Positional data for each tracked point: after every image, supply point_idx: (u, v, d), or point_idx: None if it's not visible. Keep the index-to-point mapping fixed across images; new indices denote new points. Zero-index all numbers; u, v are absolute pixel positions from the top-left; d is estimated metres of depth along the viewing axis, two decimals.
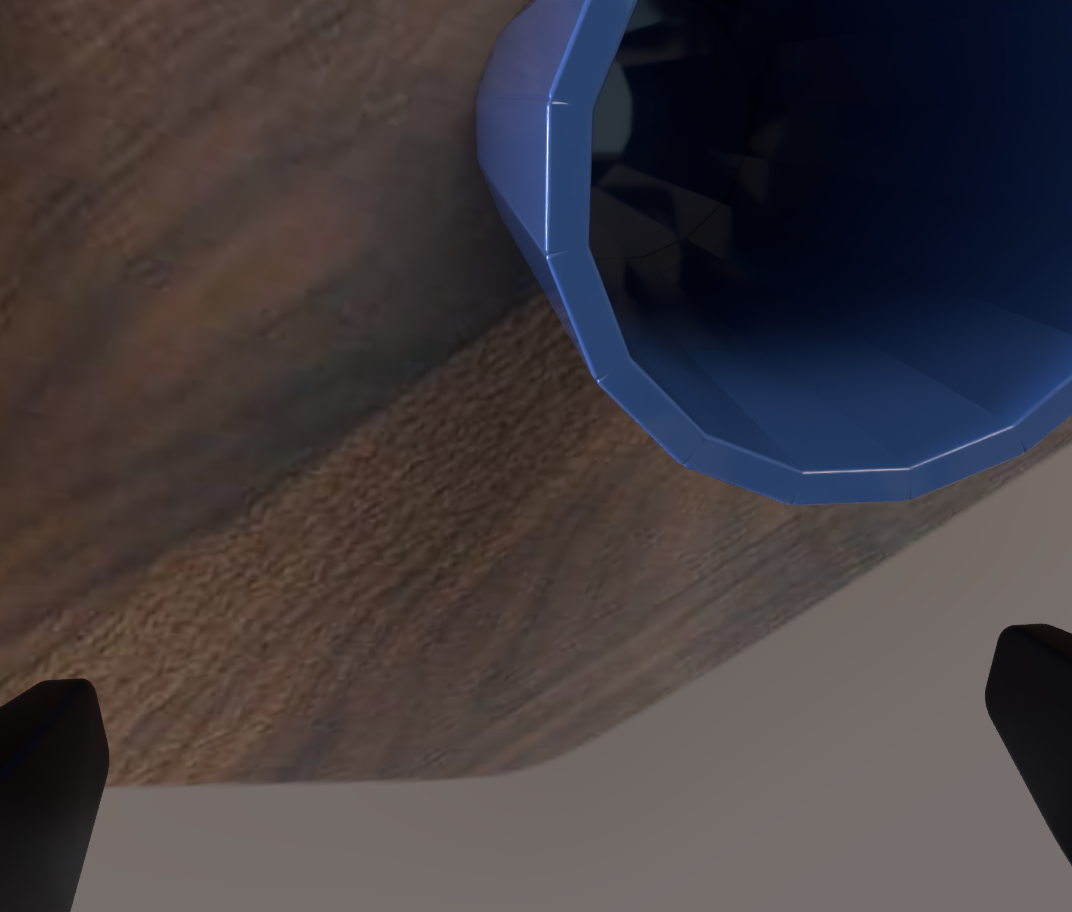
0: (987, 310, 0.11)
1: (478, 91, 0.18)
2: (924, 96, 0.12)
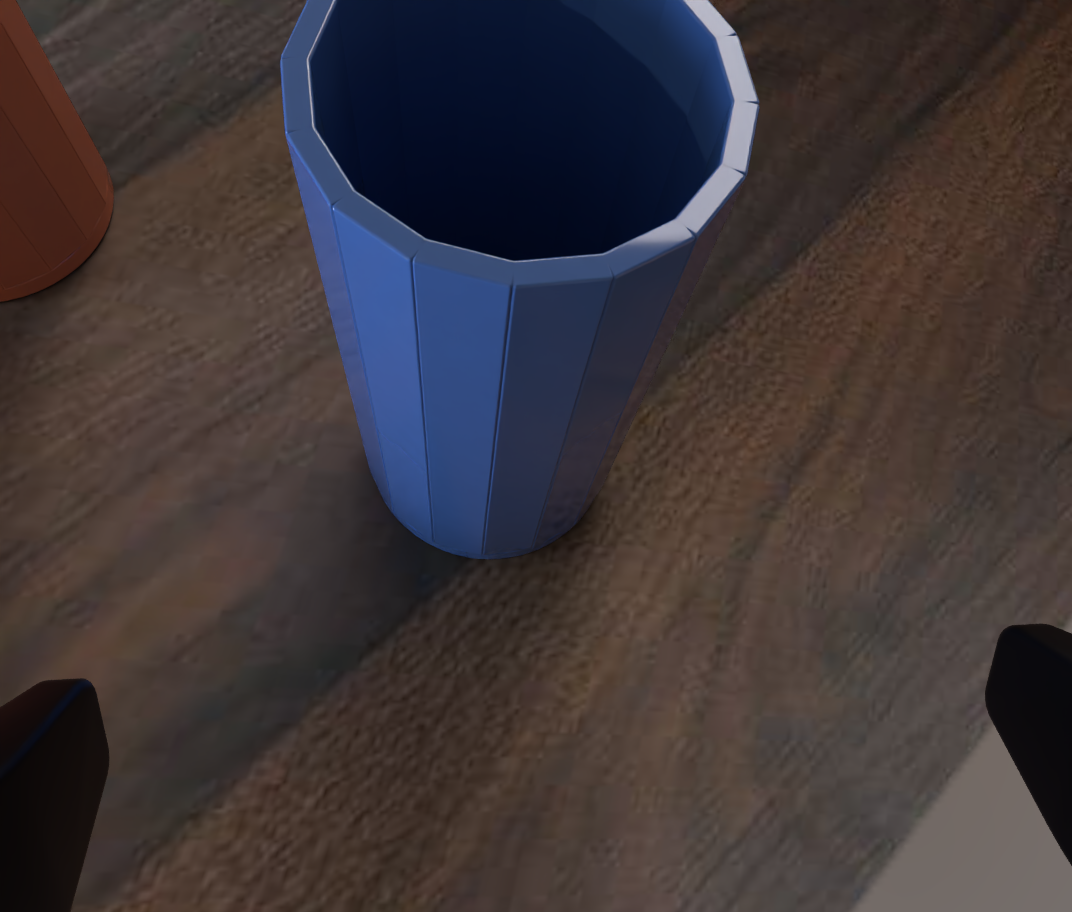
0: None
1: None
2: None
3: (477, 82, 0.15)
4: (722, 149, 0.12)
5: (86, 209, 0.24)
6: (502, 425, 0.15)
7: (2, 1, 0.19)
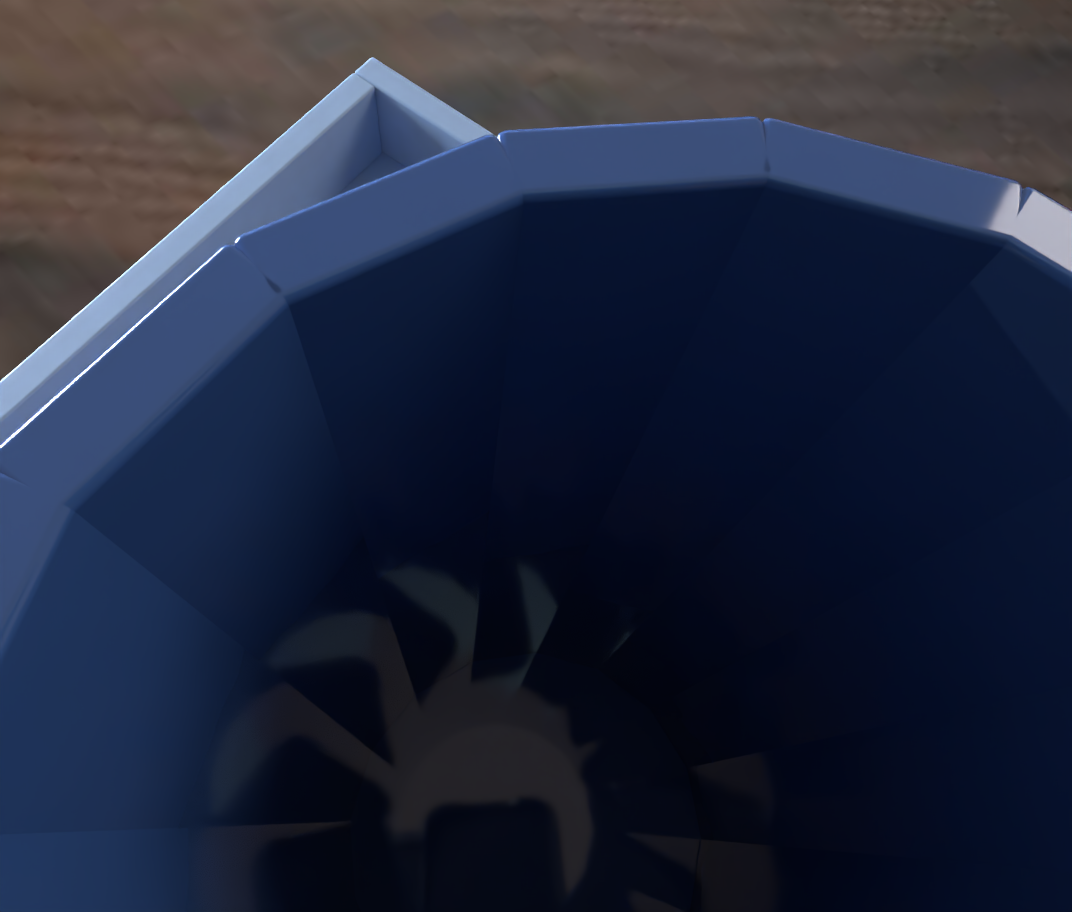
0: None
1: None
2: (874, 711, 0.08)
3: (545, 446, 0.07)
4: None
5: None
6: None
7: None
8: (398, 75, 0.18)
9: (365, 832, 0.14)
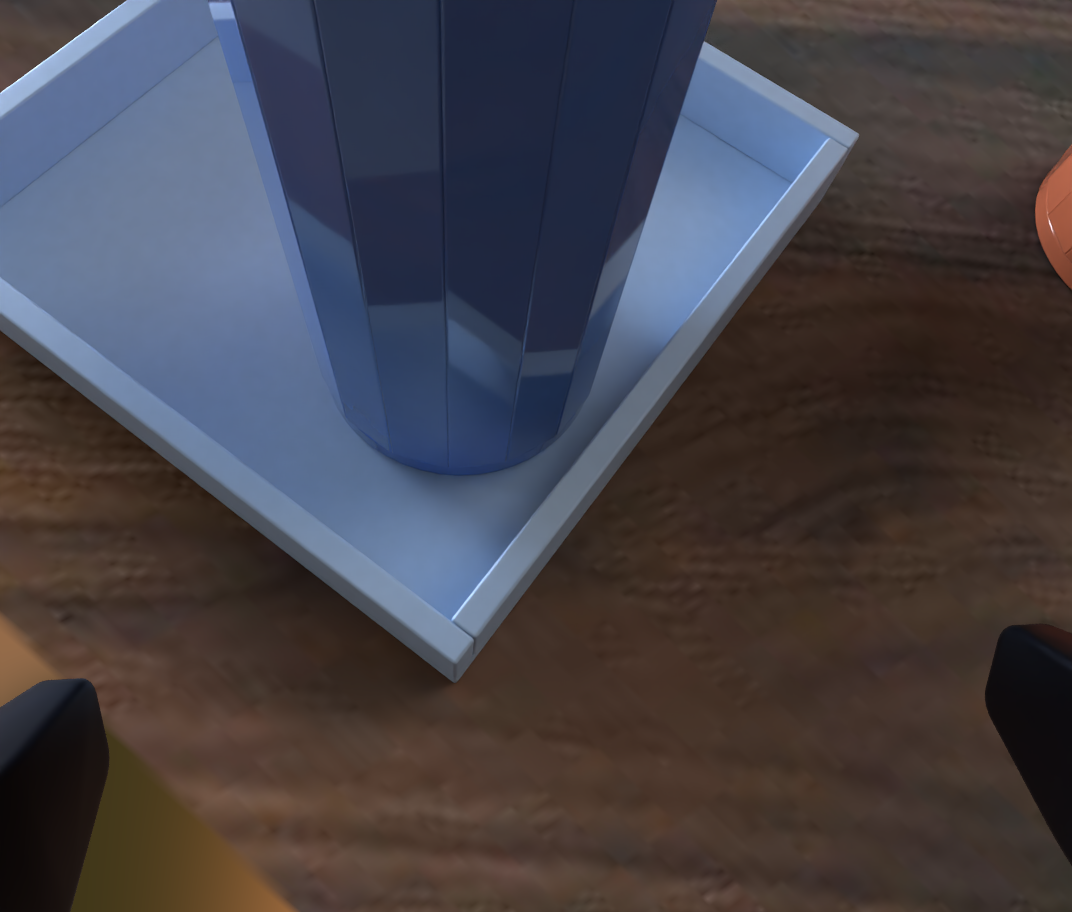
0: None
1: None
2: None
3: None
4: None
5: None
6: (451, 241, 0.11)
7: None
8: None
9: None
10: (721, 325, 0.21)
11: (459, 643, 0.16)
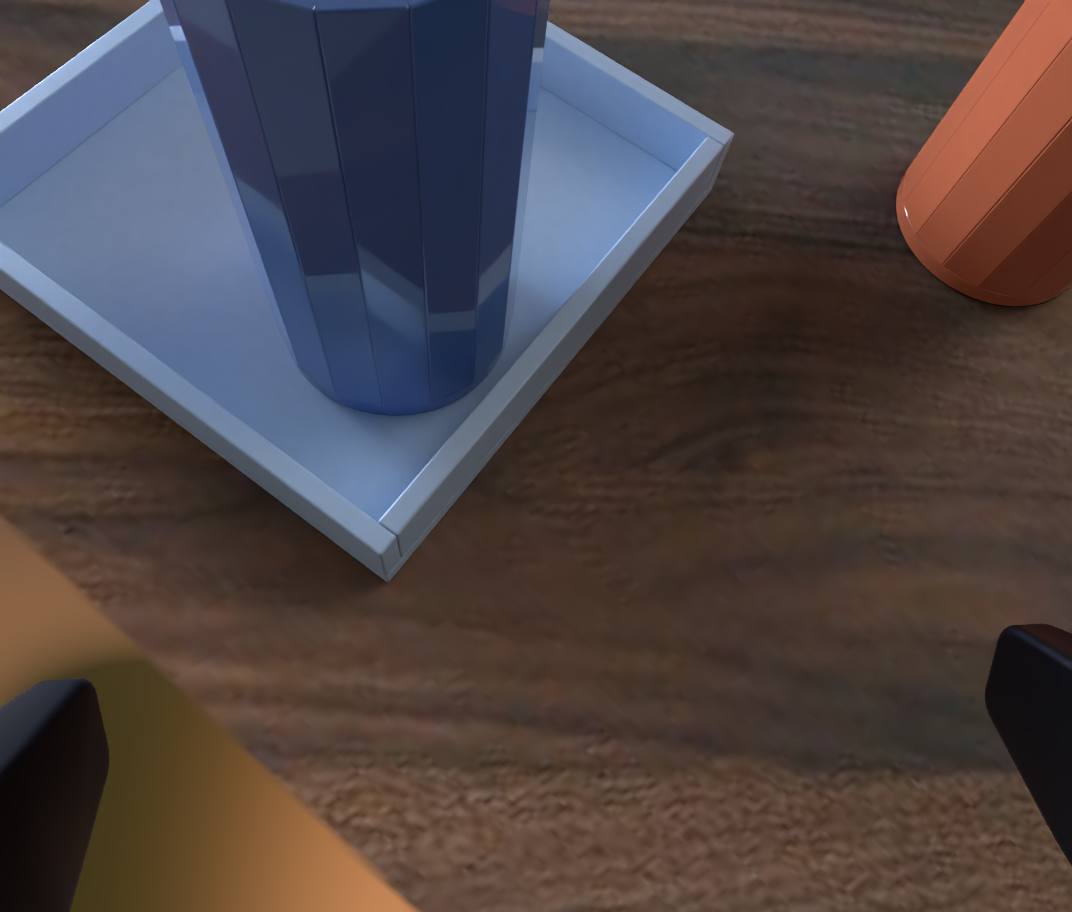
0: None
1: None
2: None
3: None
4: None
5: None
6: (353, 209, 0.16)
7: None
8: None
9: None
10: (615, 293, 0.25)
11: (384, 539, 0.20)
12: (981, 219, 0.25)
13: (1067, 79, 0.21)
